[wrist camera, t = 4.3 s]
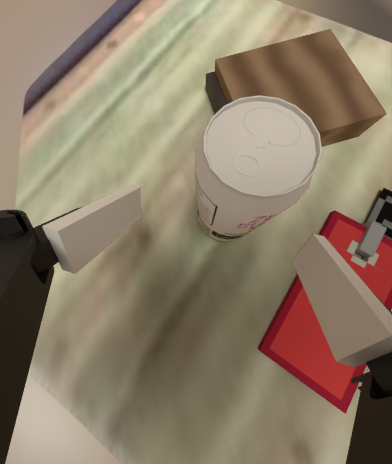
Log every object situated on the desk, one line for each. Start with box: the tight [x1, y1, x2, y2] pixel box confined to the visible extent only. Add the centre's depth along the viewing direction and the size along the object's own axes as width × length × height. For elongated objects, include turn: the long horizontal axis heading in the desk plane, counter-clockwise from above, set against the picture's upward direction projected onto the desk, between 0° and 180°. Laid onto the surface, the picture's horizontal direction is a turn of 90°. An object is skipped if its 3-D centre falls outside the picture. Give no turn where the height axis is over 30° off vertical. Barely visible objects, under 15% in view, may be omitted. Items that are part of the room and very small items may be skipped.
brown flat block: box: [206, 29, 387, 147], centre depth 25 cm, size 22×18×4 cm
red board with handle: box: [258, 188, 392, 414], centre depth 20 cm, size 30×3×15 cm
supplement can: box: [195, 95, 322, 242], centre depth 16 cm, size 8×8×15 cm
